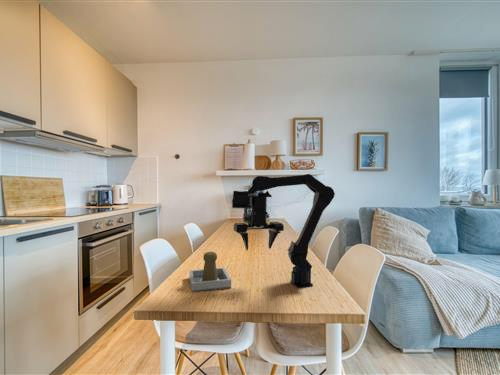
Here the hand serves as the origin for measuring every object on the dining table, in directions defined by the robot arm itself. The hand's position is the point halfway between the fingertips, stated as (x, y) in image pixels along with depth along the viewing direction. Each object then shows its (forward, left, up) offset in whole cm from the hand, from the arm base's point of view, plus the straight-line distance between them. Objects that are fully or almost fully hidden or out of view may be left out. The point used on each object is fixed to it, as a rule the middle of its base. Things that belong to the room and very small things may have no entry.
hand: (258, 249), depth 95 cm
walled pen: (+18, -5, -13) cm, 23 cm away
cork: (+18, -5, -13) cm, 22 cm away
